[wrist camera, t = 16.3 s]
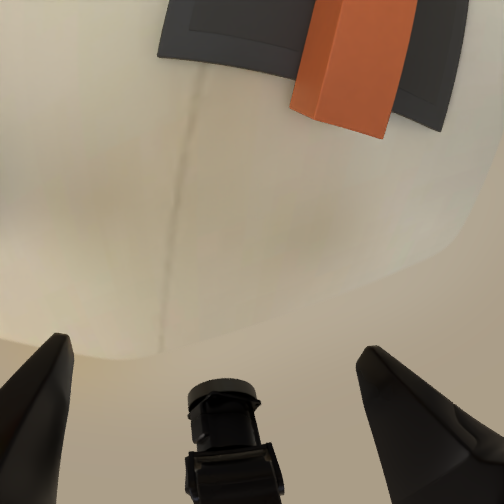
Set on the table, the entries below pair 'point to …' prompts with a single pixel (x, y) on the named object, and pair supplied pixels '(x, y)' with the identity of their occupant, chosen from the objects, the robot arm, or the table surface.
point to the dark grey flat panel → (294, 37)
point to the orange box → (353, 62)
